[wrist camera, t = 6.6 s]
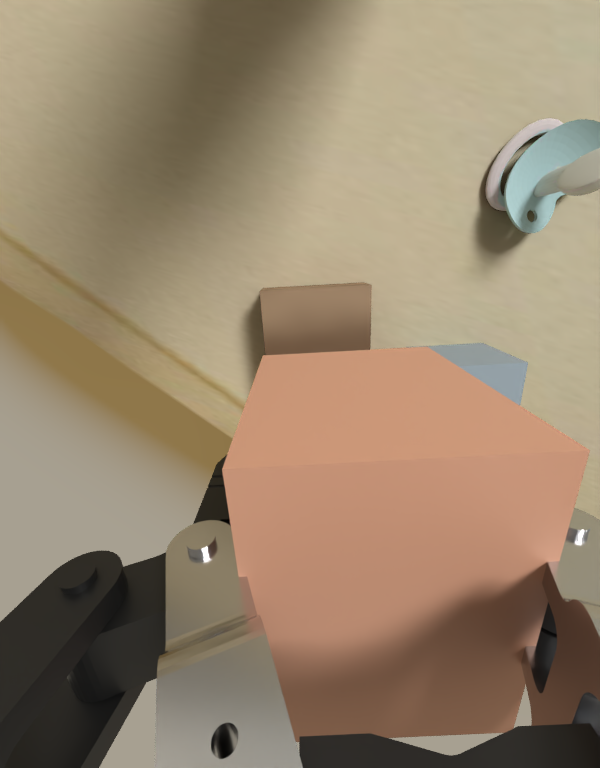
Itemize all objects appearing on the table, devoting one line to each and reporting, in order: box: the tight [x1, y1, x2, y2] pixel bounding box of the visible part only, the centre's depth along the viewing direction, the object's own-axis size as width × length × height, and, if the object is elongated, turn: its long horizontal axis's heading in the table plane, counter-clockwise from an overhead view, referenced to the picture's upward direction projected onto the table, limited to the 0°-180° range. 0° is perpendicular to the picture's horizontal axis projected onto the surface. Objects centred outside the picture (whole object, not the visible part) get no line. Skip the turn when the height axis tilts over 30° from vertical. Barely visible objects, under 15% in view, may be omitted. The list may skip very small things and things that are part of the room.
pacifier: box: [485, 118, 600, 233], centre depth 22 cm, size 7×6×6 cm
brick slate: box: [406, 343, 528, 405], centre depth 27 cm, size 6×5×6 cm
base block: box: [260, 283, 371, 355], centre depth 27 cm, size 8×8×3 cm
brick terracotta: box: [222, 347, 590, 742], centre depth 8 cm, size 6×5×6 cm
